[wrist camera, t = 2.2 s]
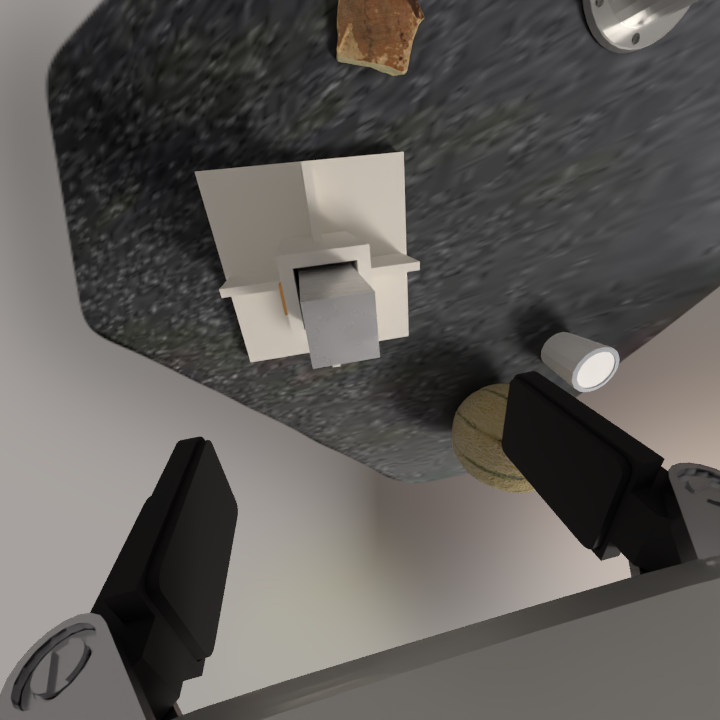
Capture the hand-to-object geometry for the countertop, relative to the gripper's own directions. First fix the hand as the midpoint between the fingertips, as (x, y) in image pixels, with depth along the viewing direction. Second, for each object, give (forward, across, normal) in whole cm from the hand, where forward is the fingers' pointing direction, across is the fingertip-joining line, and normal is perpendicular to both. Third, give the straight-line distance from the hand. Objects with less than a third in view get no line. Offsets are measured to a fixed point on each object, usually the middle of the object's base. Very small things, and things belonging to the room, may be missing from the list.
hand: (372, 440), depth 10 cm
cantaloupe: (+30, -23, +25) cm, 45 cm away
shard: (+30, -8, -21) cm, 38 cm away
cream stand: (+30, -1, 0) cm, 30 cm away
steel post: (+27, -1, 0) cm, 27 cm away
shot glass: (+30, -35, +17) cm, 49 cm away
